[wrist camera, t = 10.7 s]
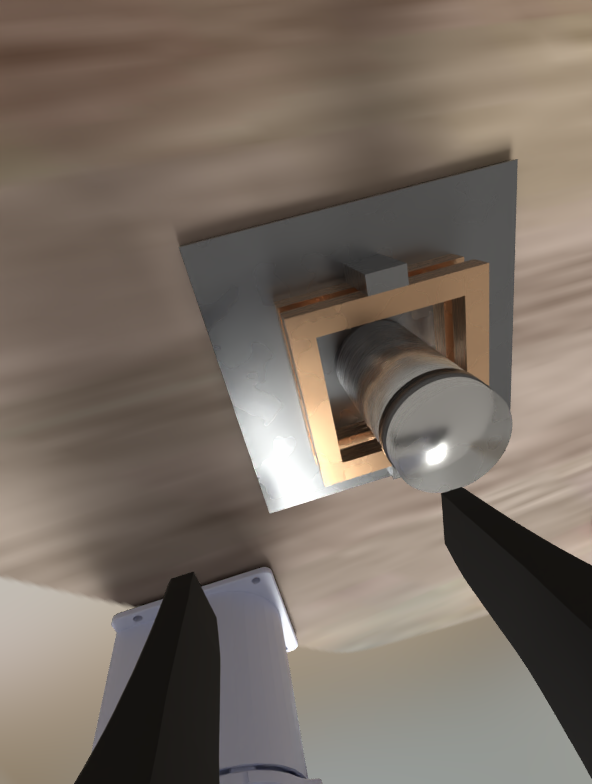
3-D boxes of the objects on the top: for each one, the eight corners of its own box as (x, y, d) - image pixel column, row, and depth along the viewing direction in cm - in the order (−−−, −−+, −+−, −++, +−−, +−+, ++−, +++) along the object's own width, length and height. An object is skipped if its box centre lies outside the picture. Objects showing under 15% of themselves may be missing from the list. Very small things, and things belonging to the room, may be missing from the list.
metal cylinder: (344, 410, 20) (401, 508, 14) (326, 334, 18) (384, 408, 12) (422, 386, 20) (513, 471, 14) (413, 308, 18) (513, 367, 12)
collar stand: (268, 507, 22) (277, 552, 20) (179, 245, 16) (173, 256, 13) (503, 434, 23) (544, 467, 21) (509, 160, 17) (569, 153, 14)
